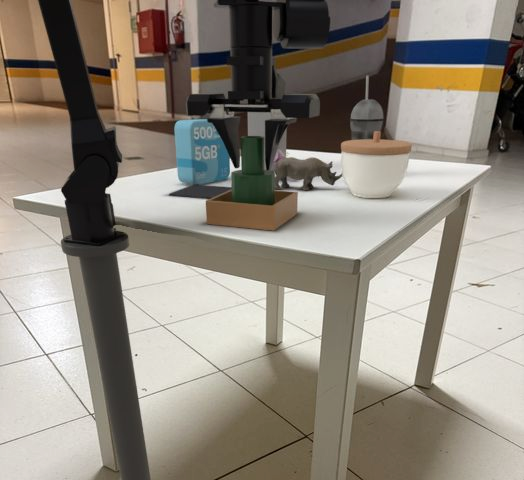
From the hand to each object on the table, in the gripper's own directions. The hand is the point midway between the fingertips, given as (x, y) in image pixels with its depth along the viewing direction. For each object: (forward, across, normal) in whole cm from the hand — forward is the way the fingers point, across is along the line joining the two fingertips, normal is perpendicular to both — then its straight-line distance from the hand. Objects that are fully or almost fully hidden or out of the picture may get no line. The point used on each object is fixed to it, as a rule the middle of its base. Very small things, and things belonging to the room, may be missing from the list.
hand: (252, 168), depth 75 cm
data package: (+8, +22, -26) cm, 35 cm away
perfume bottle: (+8, +16, -48) cm, 51 cm away
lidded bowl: (+8, -14, -25) cm, 30 cm away
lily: (+8, +8, -35) cm, 37 cm away
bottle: (+8, 0, 0) cm, 8 cm away
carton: (+8, 0, 0) cm, 8 cm away
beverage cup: (+8, -8, -46) cm, 47 cm away
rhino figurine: (+8, -1, -26) cm, 27 cm away
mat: (+8, +17, -16) cm, 25 cm away
